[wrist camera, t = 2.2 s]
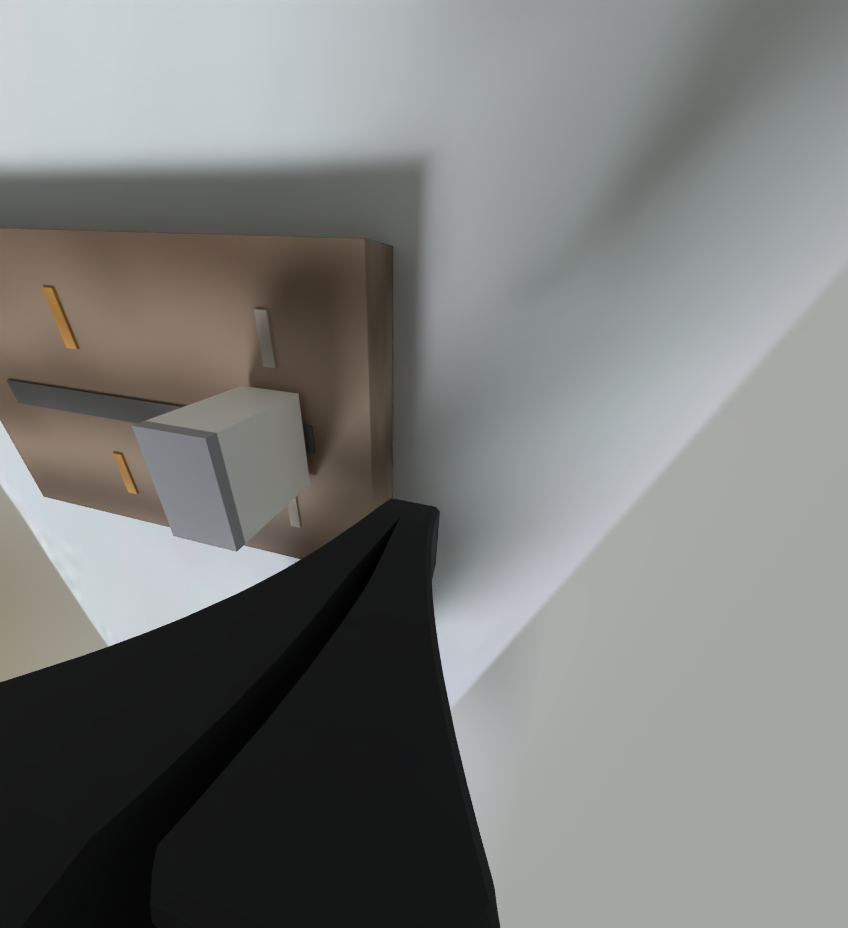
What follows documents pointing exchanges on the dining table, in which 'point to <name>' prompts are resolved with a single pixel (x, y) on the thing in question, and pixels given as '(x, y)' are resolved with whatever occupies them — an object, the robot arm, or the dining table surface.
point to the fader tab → (226, 463)
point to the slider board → (196, 360)
